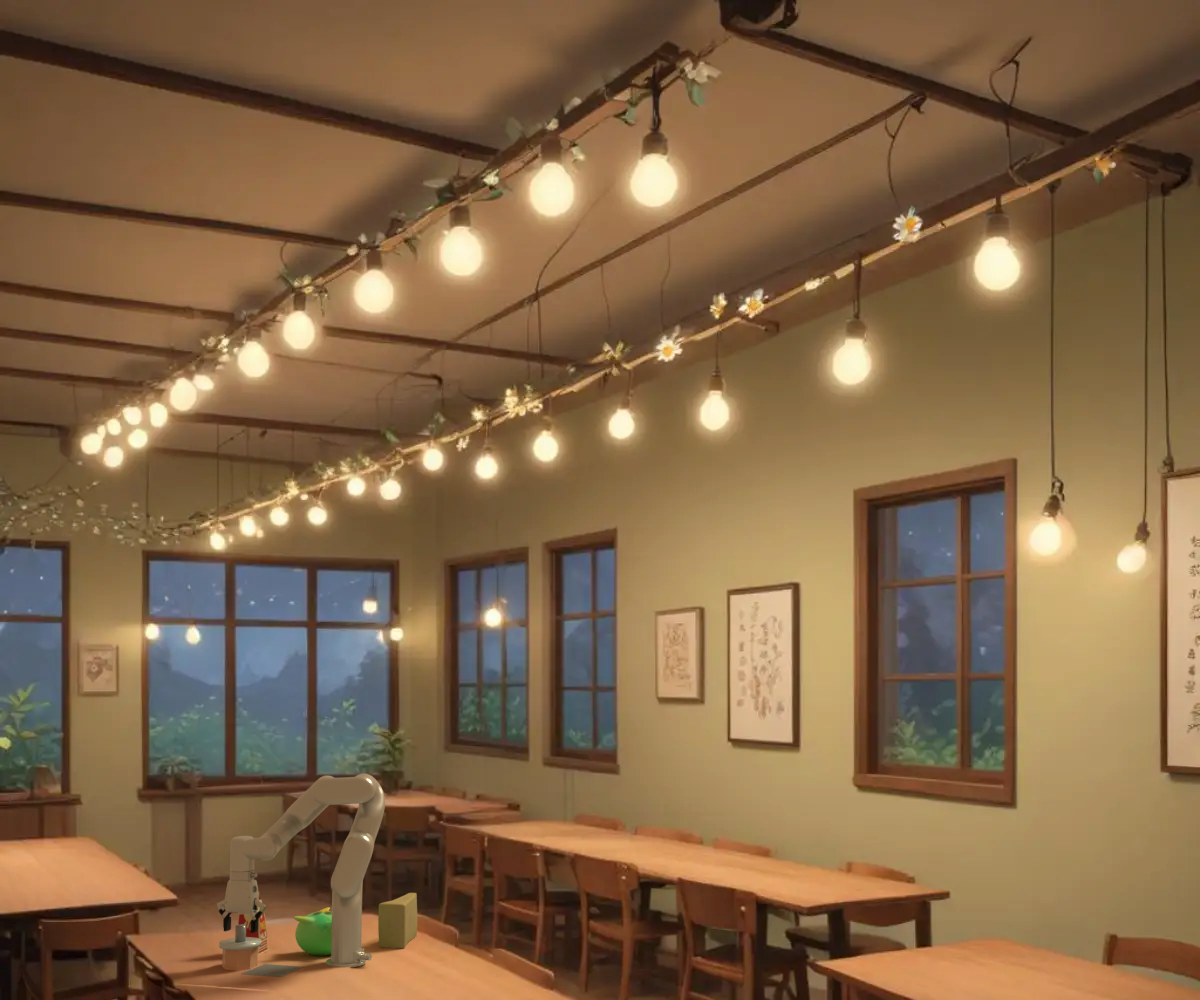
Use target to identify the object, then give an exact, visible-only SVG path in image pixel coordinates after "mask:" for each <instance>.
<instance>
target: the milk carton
mask: <svg viewBox="0 0 1200 1000" xmlns="http://www.w3.org/2000/svg"><path fill="white" fill-rule="evenodd" d="M258 894H259V895H260V891H258ZM259 901H260V902H262V903H263V901H262V898H261V897H260V896H259ZM259 909H260V908H259ZM259 909H258V910H257V912H258V911H259ZM237 920H238V922H237V925H239V924H245V925H246V937H253V938H259V939H261V940H262V942H261V946H259V947H258V952H257V956H259V955H261V954H264V952H265V951H267V950H268V951H269V939H268V930H267V929H268V928H267V920H266V915H265V912H264V913H263V914H262V915H261V917H260V918H259V919H258V930H257V932H254V933H251V932H250V925H251V920H252V918H251V916H250V915H249V913H248V914H244V913H238V919H237Z"/></svg>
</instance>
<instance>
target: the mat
mask: <svg viewBox="0 0 1200 1000" xmlns="http://www.w3.org/2000/svg"><path fill="white" fill-rule="evenodd" d="M302 968H303V965H302V966H300V965H286V964H272V963H271V964H270V963H264V964H261V965H258V966H256V967H254V968H251V969H248V970H247V971H245V972H242V973H241V975H246V976H247V975H248V976H260V977H274V978H282V977H284V976H286V975H289V974H291V973H293V972H295V971H297V970H300V969H302Z"/></svg>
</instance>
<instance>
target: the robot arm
mask: <svg viewBox="0 0 1200 1000" xmlns="http://www.w3.org/2000/svg"><path fill="white" fill-rule="evenodd" d="M353 804H354V805H357V804H358V808H357V811H356V813H355V817H354V820H353V824H352V825H351V828H350V831H349V833H348V835H347V837H346V839H345V840H344V842H343V845H342V848H341V851H340V853H339V857H338V859H337V862H336V865H335V868H334V871H333V873H332V875H331V877H330V878H331V879H330V887H331V891H332V893H331V895H332V896H331V912H332V925H331V954H330V958H329V959H326V961H325V965H326V966H328V967H334V968H351V969H352V968H357V967H361V966H363V965H366V963H367V961H371V960H372V957H373V956H372V953H371V952H365V948H362V928H363V927H362V921H363V920H362V919H363V918H362V916H363V887H364V886H363V883H364V881H363V880H364V878H365V875H366V874H367V869H368V866H369V864H370V861H371V859H372V855H373V853H374V847H375V841H376V838H377V835H378V834H379V830H380V826H381V823H382V820H383V818H384V817H383V816H384V813H385V807H386V797H385V792H384V790H383V788H382V786H381V784H380V783H379V782H378V780H376V778H375V777H374V776H372V775H371V774H369V773H358V774H356V775H355V776H349V777H348V776H347V777H334V776H332V775H323V776H321V777H319V778H318V779H317V780H316V781H315V782H314V783H313V784H312V785H310V786H309V788H307V789H306V790H305V791H304V793H302V794H301V795H300V796H299V797H298V798H297V799H296V800H295V801H294V802H293V803H292V804H290V806H289V807H288V808H287V809H286V811H285V812H284V813H283V815H282V816H281V817H279V818H278V820H277V821H276V822H274V823H273V824H272V825H271V826H270V827H269V828H268V829H267V830H266V831H265V832H264V833H263V834H262V835H261V836H260V837H253V836H251V835H239V836H234V837H232V839H231V840H230V851H229V853H230V854H229V855H230V859H229V860H230V862H229V867H230V868H229V880H228V881H227V883H226V884H227V885H226V889H225V895H224V899H222V900H221V901H219V902H217V903H216V907H217V910H218V914H220V915H221V918H222V919H223V924H222V927H223V932H228V931H231V930H232V917H231V915H232V914H239V913H244V914H248V913H249V915H250V916H251V918H252V920H251V925H250V932H251V933H254V932H257V930H258V919H259V918H260V917H261V915H262V914H263V913H264V914H265V910H266V908H267V905H266V904H265V903H263V901H262V902H260V901H259V897H260V893H259V894H258V892H259V887H258V881H257V879H255V878H258V872H255V861H256V860H257V861H271V860H272V859H274V858H275V857H276V855H277V854H278V853H279V852H280V850H281V849H282V848H283V847H284V846H286V844H288V843H289V842H290V841H291V839H293V838H294V837H295V836H296V835H297V834H299V832H301V831H302V830H303V829H305V828H307V827H308V826H309V825H311V824H312V822H313V821H314V820H315V819H317V818H318V816H320V815H321V813H323V811H325V809H326V808H328V807H329V806H331V805H332V806H333V805H336V806H337V805H353ZM259 908H260V909H259ZM258 909H259V911H258V912H257V910H258Z"/></svg>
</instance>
